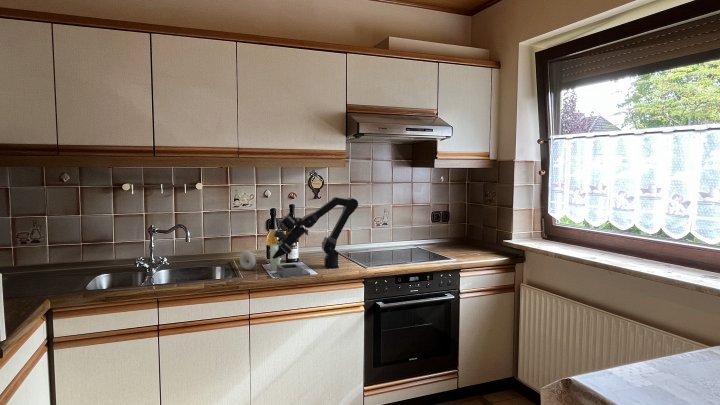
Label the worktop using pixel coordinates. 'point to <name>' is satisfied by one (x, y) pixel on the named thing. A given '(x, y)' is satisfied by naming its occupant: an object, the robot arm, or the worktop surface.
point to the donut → (244, 263)
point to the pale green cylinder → (277, 260)
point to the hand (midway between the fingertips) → (272, 257)
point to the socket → (291, 270)
